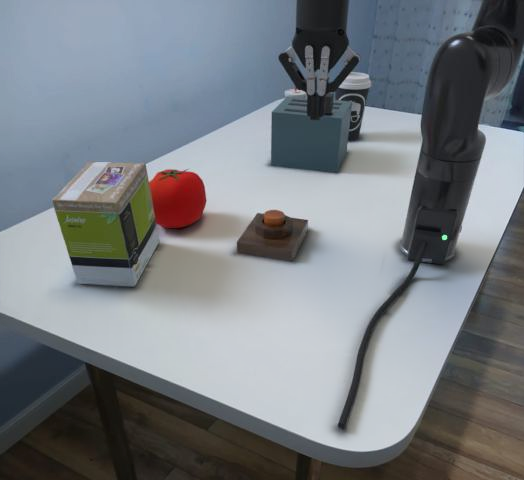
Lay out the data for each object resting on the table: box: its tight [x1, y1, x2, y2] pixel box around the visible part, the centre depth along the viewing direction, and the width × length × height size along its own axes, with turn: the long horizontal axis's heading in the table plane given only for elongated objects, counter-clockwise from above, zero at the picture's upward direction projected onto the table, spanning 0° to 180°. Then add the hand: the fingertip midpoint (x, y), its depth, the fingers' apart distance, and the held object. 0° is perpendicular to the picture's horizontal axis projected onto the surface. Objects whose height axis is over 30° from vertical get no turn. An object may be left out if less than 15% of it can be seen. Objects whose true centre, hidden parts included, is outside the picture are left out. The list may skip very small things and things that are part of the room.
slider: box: [324, 92, 335, 114], centre depth 109 cm, size 3×2×4 cm
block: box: [236, 212, 309, 262], centre depth 89 cm, size 12×10×4 cm
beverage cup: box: [284, 85, 307, 98], centre depth 137 cm, size 6×6×14 cm
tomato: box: [149, 168, 207, 229], centre depth 93 cm, size 11×13×10 cm
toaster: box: [270, 96, 352, 174], centre depth 118 cm, size 14×16×12 cm
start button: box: [263, 209, 285, 227], centre depth 87 cm, size 4×4×2 cm
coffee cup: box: [334, 71, 372, 142], centre depth 130 cm, size 10×10×15 cm
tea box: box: [51, 160, 160, 288], centre depth 80 cm, size 15×10×15 cm, turn 174°
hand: (315, 119), depth 81 cm, fingers closed
